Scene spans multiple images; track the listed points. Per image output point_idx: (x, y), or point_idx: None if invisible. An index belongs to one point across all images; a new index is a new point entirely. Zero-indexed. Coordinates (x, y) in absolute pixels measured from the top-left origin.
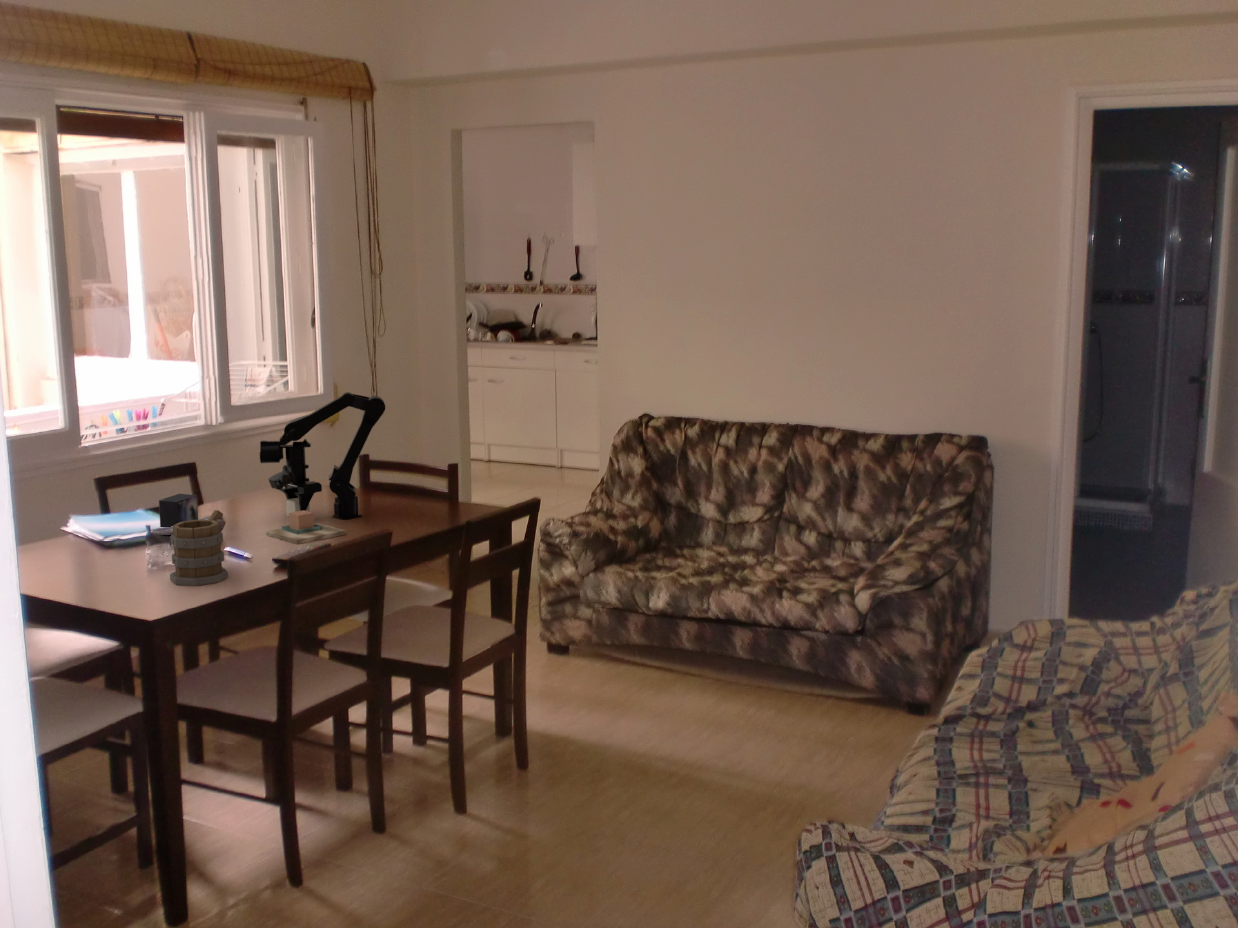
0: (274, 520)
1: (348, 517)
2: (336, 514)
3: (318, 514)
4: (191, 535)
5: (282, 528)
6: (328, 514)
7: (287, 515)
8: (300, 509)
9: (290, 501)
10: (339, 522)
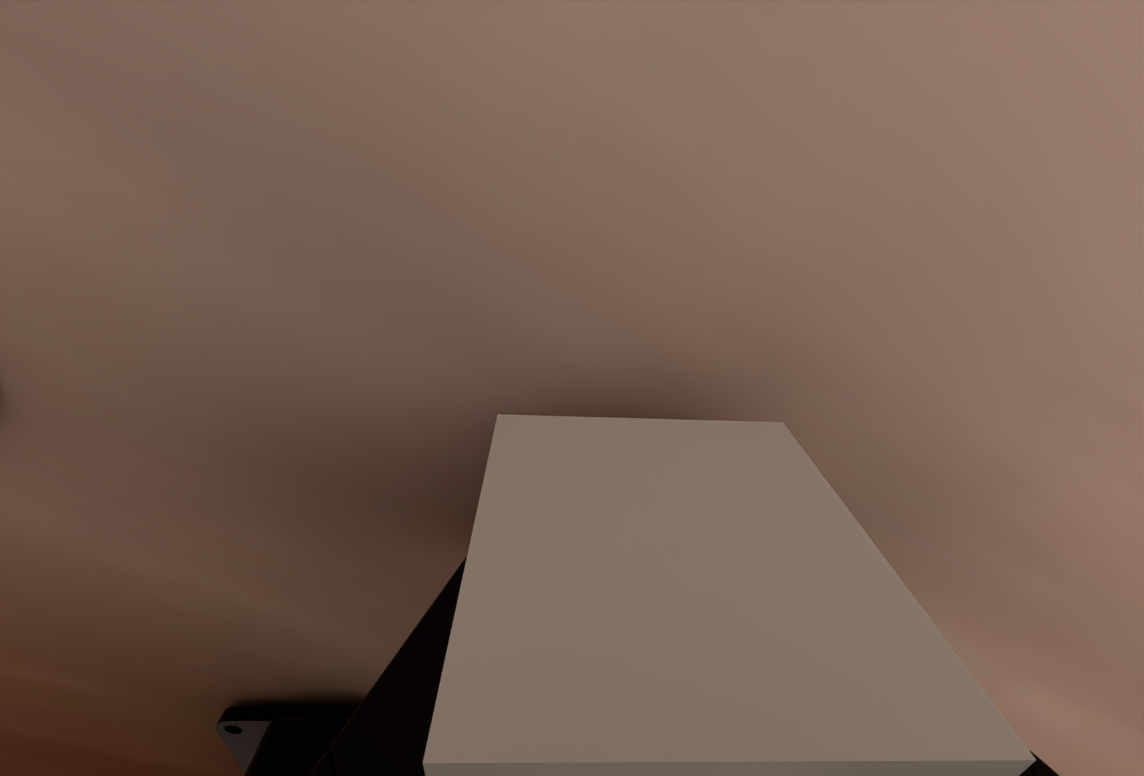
0: (895, 212)
1: (229, 744)
2: (311, 740)
3: None
4: None
5: None
6: None
7: (760, 426)
8: None
9: (723, 733)
10: (125, 641)
